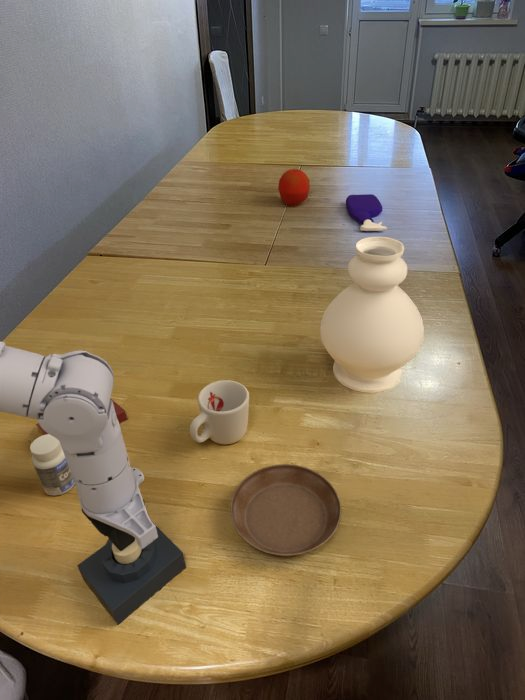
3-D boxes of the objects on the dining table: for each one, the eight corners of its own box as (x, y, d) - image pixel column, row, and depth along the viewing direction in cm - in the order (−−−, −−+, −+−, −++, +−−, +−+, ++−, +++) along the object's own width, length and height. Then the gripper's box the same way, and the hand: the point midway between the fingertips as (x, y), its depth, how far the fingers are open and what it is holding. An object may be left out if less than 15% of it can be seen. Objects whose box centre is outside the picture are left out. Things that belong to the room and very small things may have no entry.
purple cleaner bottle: (344, 194, 166) (353, 225, 146) (378, 193, 165) (392, 224, 146) (343, 203, 167) (353, 235, 148) (377, 202, 167) (391, 233, 147)
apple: (312, 207, 166) (313, 171, 159) (281, 210, 165) (281, 173, 158) (306, 197, 174) (306, 162, 167) (276, 199, 173) (275, 164, 166)
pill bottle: (71, 496, 75) (55, 456, 70) (39, 496, 75) (21, 456, 70) (81, 471, 79) (66, 431, 74) (50, 471, 79) (34, 431, 74)
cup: (212, 469, 78) (206, 431, 73) (179, 443, 83) (172, 406, 78) (261, 431, 84) (259, 394, 79) (228, 409, 89) (224, 373, 84)
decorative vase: (339, 335, 106) (345, 218, 91) (426, 357, 99) (449, 233, 84) (303, 385, 93) (305, 259, 79) (401, 414, 86) (423, 281, 72)
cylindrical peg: (124, 569, 60) (121, 561, 59) (109, 552, 62) (106, 543, 61) (147, 551, 62) (144, 543, 61) (132, 535, 64) (129, 527, 63)
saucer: (278, 460, 79) (278, 447, 77) (361, 511, 71) (362, 499, 69) (209, 523, 70) (207, 511, 69) (294, 591, 62) (294, 578, 60)
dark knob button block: (117, 625, 59) (108, 602, 57) (83, 580, 64) (73, 556, 61) (186, 567, 65) (181, 543, 62) (149, 529, 70) (143, 506, 67)
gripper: (173, 479, 51) (189, 558, 59) (97, 411, 59) (120, 488, 67) (111, 523, 47) (137, 602, 55) (39, 443, 55) (71, 522, 63)
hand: (124, 542), depth 61 cm, fingers closed
